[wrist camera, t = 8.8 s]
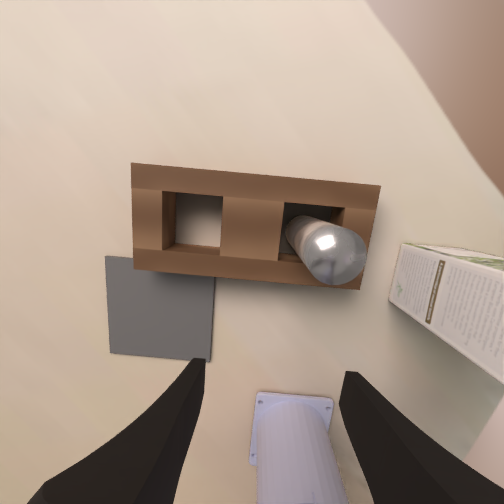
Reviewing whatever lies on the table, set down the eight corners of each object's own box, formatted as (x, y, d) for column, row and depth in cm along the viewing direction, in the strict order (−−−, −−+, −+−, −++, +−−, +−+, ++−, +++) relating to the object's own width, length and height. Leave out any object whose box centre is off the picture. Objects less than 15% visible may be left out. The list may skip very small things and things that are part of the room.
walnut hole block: (345, 277, 21) (359, 290, 18) (150, 259, 21) (133, 269, 18) (362, 187, 20) (381, 185, 17) (149, 168, 20) (130, 162, 17)
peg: (312, 252, 21) (352, 292, 12) (280, 243, 21) (298, 275, 12) (324, 221, 20) (376, 238, 12) (292, 210, 20) (319, 219, 11)
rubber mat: (210, 360, 24) (209, 361, 23) (111, 351, 24) (110, 352, 23) (215, 265, 21) (214, 266, 21) (106, 255, 21) (104, 256, 21)
